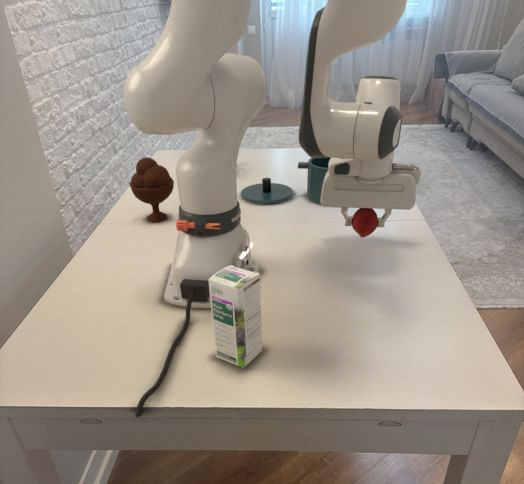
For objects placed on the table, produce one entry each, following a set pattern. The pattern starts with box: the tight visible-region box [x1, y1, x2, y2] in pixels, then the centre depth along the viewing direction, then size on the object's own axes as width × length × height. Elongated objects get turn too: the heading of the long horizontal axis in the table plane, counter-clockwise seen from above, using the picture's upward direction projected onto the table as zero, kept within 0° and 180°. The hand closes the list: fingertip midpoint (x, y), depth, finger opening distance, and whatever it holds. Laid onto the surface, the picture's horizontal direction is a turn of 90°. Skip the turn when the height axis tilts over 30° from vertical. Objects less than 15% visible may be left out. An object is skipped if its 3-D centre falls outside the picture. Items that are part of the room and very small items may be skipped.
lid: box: [240, 177, 294, 204], centre depth 137 cm, size 15×15×5 cm
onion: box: [351, 208, 378, 238], centre depth 110 cm, size 6×6×8 cm
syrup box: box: [209, 265, 263, 369], centre depth 76 cm, size 6×6×14 cm
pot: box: [297, 157, 331, 205], centre depth 134 cm, size 14×19×10 cm
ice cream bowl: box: [128, 156, 175, 224], centre depth 123 cm, size 11×11×15 cm
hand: (364, 225), depth 111 cm, fingers closed on onion, 6 cm apart
